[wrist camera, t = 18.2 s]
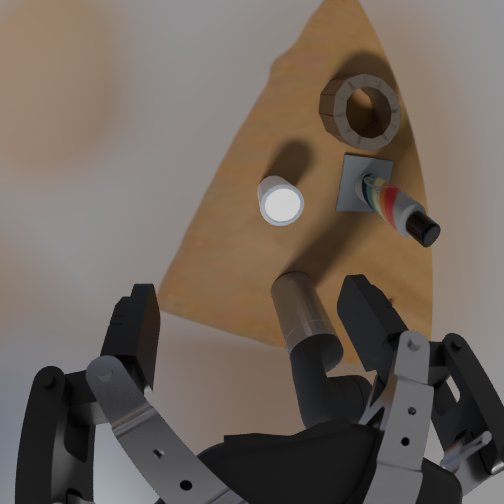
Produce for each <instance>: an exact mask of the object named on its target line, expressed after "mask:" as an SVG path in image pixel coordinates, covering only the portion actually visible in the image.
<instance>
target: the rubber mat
mask: <svg viewBox="0 0 504 504" xmlns="http://www.w3.org/2000/svg"><path fill="white" fill-rule="evenodd" d="M393 163H394V162H393V161H389V160H382V159H376V158H369V157H362V156H354V155H346V154H344V161H343V168H342V174H341V181H340V187H339V193H338V199H337V205H336V211H349V212H375V211H374V210H372V209H371V208H370V207H369V206H368V205H367V204H365V203H364V202H363V201H362V200H361V199H359V198H358V196H357V195H356V193H355V184H356V181H357V179H358V178H359V177H360V176H361V175H363V174H365V173H372V174H375V175H377V176H378V177H380V178H382V179H383V180H385V181H387V182H388V183H390V178H391V173H392V168H393Z"/></svg>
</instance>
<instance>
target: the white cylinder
mask: <svg viewBox="0 0 504 504" xmlns="http://www.w3.org/2000/svg"><path fill="white" fill-rule="evenodd" d="M257 192H258V199H259V205H260V210H261V213H262V215H263V217H264V219H265V220H266V221H268V222H269V223H270V224H273V225H277V226H282V225H288V224H290V223H292V222H294V221H295V220H296V219H297V218H298V217H299V216H300V215H301V213H302V210H303V208H304V199H303V196H302V194H301V192H300V191H299V190H298V189H296V188H295V187H294V186H293V185H291V184H290V183H289V182H287V181H286V180H285V179H283V178H282V177H279V176H276V175H275V176H268V177H266V178H265V179H263V180H262V181H261V182H260V184H259V186H258V189H257Z"/></svg>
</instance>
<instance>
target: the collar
mask: <svg viewBox="0 0 504 504" xmlns="http://www.w3.org/2000/svg"><path fill="white" fill-rule="evenodd" d="M358 88H360V89H361V90H363V91H364V92H365V93H366V94H367V95H368V96H369V98H370V101H371V103H372V106H373V113H372V120H371V121H370V123H369V124H368V126H367V127H366V128H365V129H363V130H361V131H359V132H355V131H353V130H352V129H351V128H350V125H349V122H348V120H347V117H346V115H345V114H346V104H347V100H348V98H349V97H350V96H351V94H352V93H353V91H354V90H356V89H358ZM319 115H320V117H321V119H322V122H323V124H324V126H325V129H326V130H327V132H329V133H330V134H331V135H333V136H334V137H335V138H336V139H338V140H339V141H340V142H343V143H345V144H347V145H350V146H352V147H354V148H356V149H363V150H370V151H375V150H377V149H379V148H381V147H383V146H386V145H388V143H390V142H391V140H392V139H393V137H394V136H395V134H396V133H397V132H398V130H399V125H400V118H401V108H400V105H399V102H398V99H397V96H396V93H395V91H394V90H393V89H392V88H391V87H390V86H389V85H388V84H387V83H386V82H385V81H384V80H383V79H381V78H379V77H376V76H372V75H369V74H365V73H362V74H348V75H344V76H341V77H338V78H335V79H333V80H331V81H330V82H329V83H328V85H327V86H326V87H325V89H324V90H323V91H322V93H321V95H320V104H319Z"/></svg>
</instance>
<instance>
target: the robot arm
mask: <svg viewBox="0 0 504 504" xmlns="http://www.w3.org/2000/svg"><path fill="white" fill-rule="evenodd" d="M271 295H272V299H273V302H274V306H275V309H276V313H277V316H278V320H279V323H280V326H281V330H282V333H283V337H284V340H285V343H286V347H287V350H288V353H289V357H290V361H291V366H292V376H293V381H294V385H295V389H296V394H297V399H298V404H299V409H300V413H301V418H302V421H303V423H304V426H305V428H306V430H304V431H302V432H299V433H297V434H295V435H291V436H283V435H270V434H261V433H251V434H240V435H225V436H224V442H223V443H219V444H216V445H214V446H212V447H209V448H208V449H206V450H204V451H202V452H201V453H200V454H198V455H197V456H195V455H194V454H193V452H192V451H191V450H190V449H189V448H188V447H187V446H186V445H185V444H184V443H183V442H182V440H181V439H180V438H179V437H178V436H177V435H176V434H175V432H174V431H173V430H172V429H171V428H170V426H169V425H168V424H167V423H166V422H165V420H164V419H163V418H162V417H161V415H160V414H159V413H158V412H157V411H156V409H155V408H154V407H153V406H151V405H150V403H149V402H148V401H147V399H146V398H145V397H144V392H153V381H154V372H155V363H156V354H157V346H158V339H159V331H160V311H159V307H158V302H157V298H156V293H155V288H154V285H153V284H134V287H133V290H132V293H131V296H130V297H122V298H121V299H120V301H119V302H118V303H117V304H116V305H115V308H114V311H113V314H112V317H111V320H110V325H109V327H108V330H107V333H106V336H105V340H104V343H103V347H102V350H101V354H100V357H98V358H96V359H94V360H93V361H92V362H91V363H90V364H89V365H88V367H87V369H86V370H84V371H80V372H74V373H69V374H64V373H63V372H62V370H61V369H60V368H58V367H55V366H47V367H45V368H42V369H41V370H40V371H39V372H38V373H37V374H36V376H35V378H34V381H33V384H32V388H31V392H30V395H29V399H28V404H27V408H26V412H25V417H24V422H23V427H22V432H21V438H20V445H19V452H18V460H17V470H16V483H15V504H96V503H94V501H93V461H94V441H95V428H96V425H98V424H103V423H108V422H109V423H110V424H111V426H112V431H113V433H114V435H115V437H116V438H117V440H118V442H119V443H120V445H121V446H122V448H123V449H124V451H125V452H126V453H127V455H128V457H129V458H130V459H131V461H132V462H133V463H134V465H135V466H136V468H137V469H138V470H139V472H140V473H141V474H142V476H143V477H144V478H145V479H146V481H147V482H148V483H149V484H150V485H151V487H152V488H153V489H154V490H155V492H156V493H157V494H158V495H159V496H160V498H159V499H158V501H157V502H156V503H155V504H462V497H463V496H464V495H466V494H467V493H469V492H470V491H472V490H473V489H474V488H476V487H477V486H478V485H480V484H481V483H482V482H483V481H485V480H487V479H489V478H491V477H493V476H494V475H496V474H498V473H500V472H501V471H503V470H504V406H503V404H502V402H501V400H500V398H499V396H498V395H497V392H496V391H495V389H494V387H493V385H492V383H491V381H490V380H489V378H488V376H487V375H486V373H485V371H484V369H483V368H482V366H481V364H480V363H479V361H478V359H477V358H476V356H475V355H474V353H473V351H472V350H471V349H470V347H469V345H468V344H467V342H466V341H465V340H464V338H462V337H461V336H460V335H458V334H454V333H449V334H447V335H446V336H445V338H444V339H443V340H442V342H431V341H428V340H427V338H426V337H425V336H424V335H422V334H421V333H419V332H417V331H414V330H409V329H408V328H407V326H406V325H405V323H404V322H403V321H402V319H401V318H400V316H399V315H398V313H397V312H396V310H395V309H394V308H393V307H392V305H391V303H390V302H389V301H388V299H387V298H386V296H385V295H384V293H383V292H382V291H381V290H380V289H378V288H377V287H376V286H374V285H371V284H370V283H369V281H368V280H367V278H366V277H365V276H364V275H363V274H359V275H347V276H346V277H345V279H344V282H343V285H342V289H341V292H340V295H339V298H338V302H337V312H338V315H339V318H340V320H341V321H342V323H343V325H344V327H345V329H346V331H347V333H348V336H349V338H350V340H351V342H352V344H353V346H354V348H355V350H356V352H357V354H358V356H359V358H360V360H361V362H362V364H363V367H364V369H365V371H366V372H368V371H372V370H376V371H377V375H376V377H375V380H374V383H373V386H372V385H371V384H370V383H369V381H368V380H366V378H364V377H362V376H359V375H347V376H339V377H327V376H326V372H328V371H330V370H331V369H333V368H334V367H335V366H336V365H337V364H338V363H339V362H340V361H341V359H342V357H343V347H342V344H341V342H340V340H339V338H338V336H337V334H336V332H335V329H334V327H333V325H332V323H331V321H330V319H329V317H328V315H327V312H326V310H325V308H324V306H323V304H322V302H321V300H320V298H319V296H318V294H317V291H316V289H315V287H314V285H313V283H312V281H311V279H310V278H309V277H308V276H307V275H306V274H304V273H300V272H292V273H288V274H285V275H283V276H281V277H280V278H278V279H277V280H276V281H275V283H274V284H273V286H272V289H271ZM450 376H452V378H453V380H454V382H455V384H456V386H457V388H458V389H459V391H460V399H459V401H458V402H456V400H455V398H454V396H453V394H452V392H451V390H450V388H449V386H448V384H447V382H446V380H447V379H448V378H449V377H450ZM430 419H431V420H432V423H433V425H434V427H435V430H436V432H437V435H438V438H439V440H440V443H441V445H442V448H443V451H444V457H443V459H442V460H441V462H440V466H439V465H437V464H435V463H433V462H431V461H429V460H428V459H426V458H424V457H423V456H424V451H425V447H426V442H427V436H428V431H429V425H430Z"/></svg>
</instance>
